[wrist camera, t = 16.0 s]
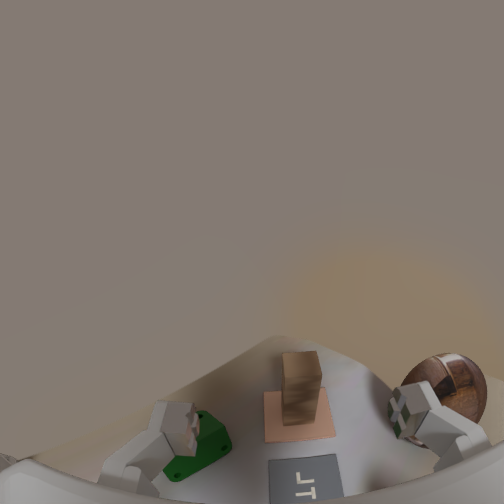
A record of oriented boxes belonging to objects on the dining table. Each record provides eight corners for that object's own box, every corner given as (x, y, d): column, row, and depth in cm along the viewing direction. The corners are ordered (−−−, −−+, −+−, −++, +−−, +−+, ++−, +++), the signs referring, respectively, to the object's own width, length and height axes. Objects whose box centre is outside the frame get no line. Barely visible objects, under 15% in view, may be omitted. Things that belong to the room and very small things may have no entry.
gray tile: (270, 518, 26) (270, 517, 26) (268, 460, 36) (268, 460, 35) (345, 509, 26) (346, 509, 26) (335, 454, 35) (336, 453, 35)
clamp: (209, 449, 42) (212, 406, 42) (229, 467, 37) (234, 423, 38) (143, 462, 34) (140, 416, 35) (158, 485, 30) (156, 437, 30)
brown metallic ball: (432, 387, 44) (458, 323, 38) (477, 437, 30) (519, 375, 25) (369, 416, 41) (390, 351, 36) (411, 481, 28) (455, 426, 22)
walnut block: (283, 426, 41) (284, 377, 37) (281, 403, 46) (282, 353, 42) (314, 423, 41) (322, 374, 37) (310, 401, 46) (316, 350, 41)
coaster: (264, 442, 39) (264, 441, 39) (263, 393, 49) (263, 391, 49) (335, 436, 39) (335, 435, 38) (324, 388, 49) (324, 387, 49)
